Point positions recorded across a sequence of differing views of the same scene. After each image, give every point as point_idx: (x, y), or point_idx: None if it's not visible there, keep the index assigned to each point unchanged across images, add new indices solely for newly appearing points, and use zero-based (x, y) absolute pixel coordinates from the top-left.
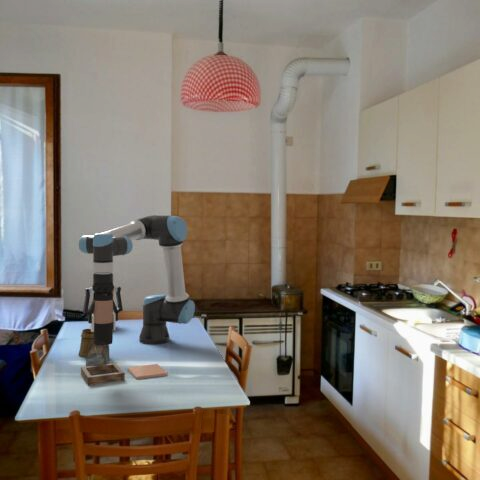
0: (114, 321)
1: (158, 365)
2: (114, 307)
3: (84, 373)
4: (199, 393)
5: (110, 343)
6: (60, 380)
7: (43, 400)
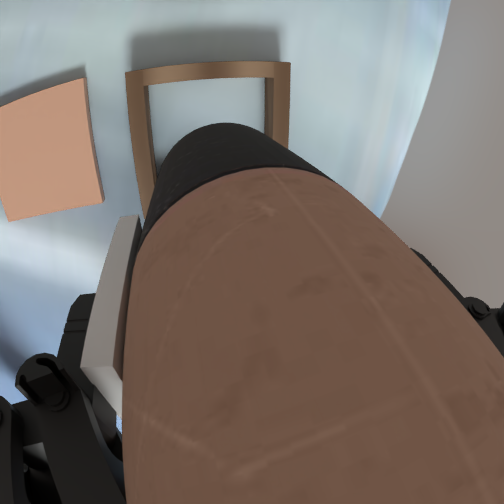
0: (114, 273)
1: (4, 203)
2: (93, 486)
3: (286, 132)
4: None
5: (178, 141)
6: (349, 155)
7: (416, 15)
